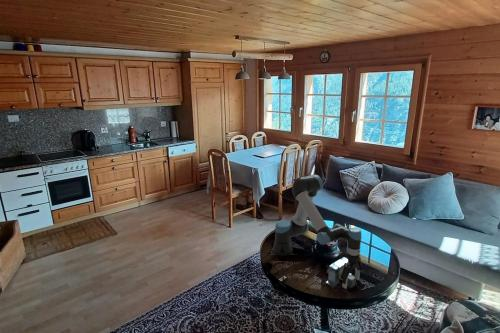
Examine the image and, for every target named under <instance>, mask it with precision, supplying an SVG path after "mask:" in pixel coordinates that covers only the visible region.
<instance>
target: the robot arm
mask: <svg viewBox="0 0 500 333" xmlns="http://www.w3.org/2000/svg"><path fill="white" fill-rule="evenodd" d="M323 183H324V182H323V180H322V178H321V177H320V175H317V174H310V175H305V176H299V177H297V178H296V179H294V181H293V183H292V187H291V188H292V194H293V197H294V198H295V200H296V201H298V205H297V208H296V211H295V215H293V216H292V217H291V220H287V219H286V220H279V221H277V222H276V223H275V225H274V234H275V235H274V238H275V239H274V243H273V246H272V252H273V253H274V254H275V255H276V256H281V257H286V256H289V255H291V254H292V253H293V246H292V242H291V238H293V237H297V236H300V235H303V234H305V233H307V232H308V230H309V223H308V220H309V221H310V222H311V224H312V226H313V228H314V229H315V231H316V232H317V234H316V241H317V242H318V243H319V245H323V246H324V245H327V244H328V245H329V244H331V243H333V242H336V241H339V240H343V241H346V242H347V246H346V258H347V259H348V263H345V264H344V268H343V271H342V274H341V277H340V278H341V279H343V280H342V285H341V286H342V288H344V289H345V290H346V289H347V288H348V286H347V277H348V275H349V273H350V272H351V271H352V270H353V268H355V270H354V271H355V272H354V277H355V280H357V281H359V280H360V275H361V271H362V270H363V269H362V268H363V264H362V260H361V256H360V255H361V244H362V230H361V229H359V228H356V227H350V228H348V227H346V226H344V225H342V224H340V223H335V224H334V225H333V226H332V227H331V228H329V227H328V224H327V223H326V221H325V220H324V218H323V217H322V215H321V213H320V212H319V210H318V208H317V207H316V205H315V204H314V201H313V200H314V197H317V195H318V192H319V191H321V190H322V189H323V186H324V184H323ZM307 218H308V220H307ZM350 274H351V273H350ZM341 279H340V280H341Z"/></svg>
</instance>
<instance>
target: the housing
mask: <svg viewBox="0 0 500 333" xmlns="http://www.w3.org/2000/svg"><path fill="white" fill-rule="evenodd" d="M345 263H348V259H347V257H345V256H343V257H342V258H340V259H338V260H336V261H335V262H333V263H331V264H330V265H329V266H328V269H329V274H328V277H327V278H328V280H327V281H325V284H326V285H328V286H330V287H331V288H335V287H336V286H337V285H339V284H340V279H339V275H340V276H341V274H342V271H343V268H344V264H345ZM349 274H350V275H352V273H349ZM352 276H353V275H352Z"/></svg>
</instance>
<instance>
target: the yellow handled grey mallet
mask: <svg viewBox="0 0 500 333" xmlns="http://www.w3.org/2000/svg"><path fill="white" fill-rule="evenodd" d="M326 273H327V274H328V275H329V268H327V269H326ZM350 274H351V273H350ZM350 274H349V275H348V277H347V288H350V289H353V287H355V286H356V278H355V275H354V276H353V275H350ZM340 277H341V276H340V275H339V280H341V281H343V279H341V278H340Z"/></svg>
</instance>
